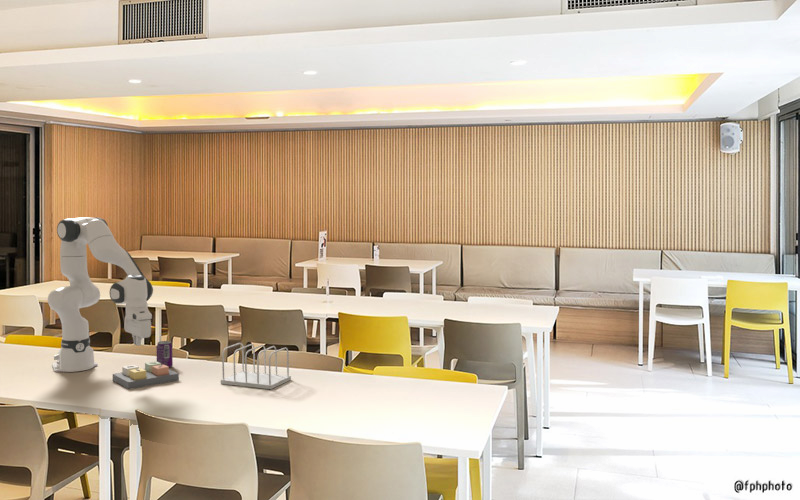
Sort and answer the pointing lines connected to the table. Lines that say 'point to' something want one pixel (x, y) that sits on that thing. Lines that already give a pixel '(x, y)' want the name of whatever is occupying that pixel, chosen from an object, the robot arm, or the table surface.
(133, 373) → the ochre key
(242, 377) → the file sorter
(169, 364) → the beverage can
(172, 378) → the keypad base
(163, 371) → the terracotta key
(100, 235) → the robot arm
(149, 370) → the sage key
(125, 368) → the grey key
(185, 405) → the table surface
